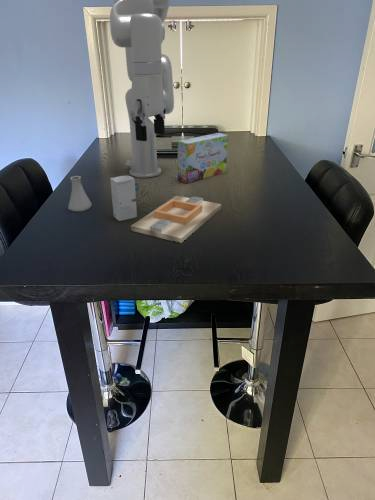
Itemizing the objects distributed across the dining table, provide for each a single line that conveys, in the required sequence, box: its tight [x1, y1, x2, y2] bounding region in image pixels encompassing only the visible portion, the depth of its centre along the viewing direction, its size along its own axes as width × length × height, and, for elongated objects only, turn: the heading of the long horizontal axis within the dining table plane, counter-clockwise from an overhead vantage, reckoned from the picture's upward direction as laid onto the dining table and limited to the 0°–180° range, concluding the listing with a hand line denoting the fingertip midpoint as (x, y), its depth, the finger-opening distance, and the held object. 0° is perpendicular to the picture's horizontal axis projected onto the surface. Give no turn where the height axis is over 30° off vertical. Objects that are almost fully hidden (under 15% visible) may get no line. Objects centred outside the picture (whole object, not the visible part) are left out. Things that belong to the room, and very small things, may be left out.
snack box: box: [177, 132, 229, 184], centre depth 143 cm, size 21×6×15 cm, turn 131°
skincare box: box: [109, 174, 138, 222], centre depth 111 cm, size 6×4×12 cm
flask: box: [67, 175, 93, 212], centre depth 118 cm, size 7×7×10 cm
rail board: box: [130, 195, 222, 244], centre depth 112 cm, size 16×26×4 cm, turn 152°
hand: (150, 137), depth 106 cm, fingers open, 9 cm apart
